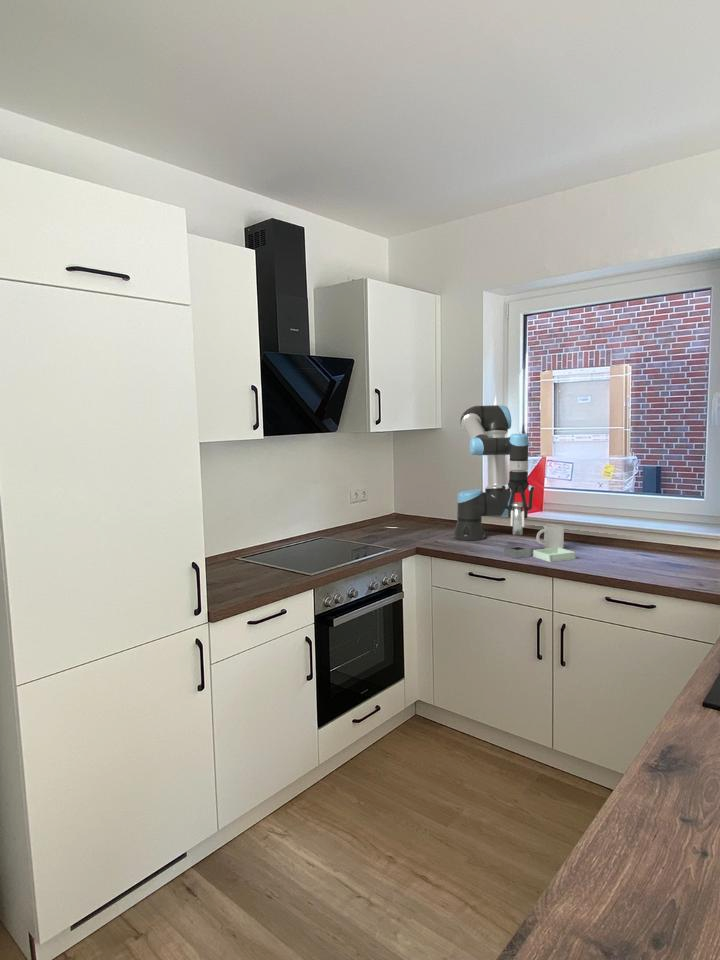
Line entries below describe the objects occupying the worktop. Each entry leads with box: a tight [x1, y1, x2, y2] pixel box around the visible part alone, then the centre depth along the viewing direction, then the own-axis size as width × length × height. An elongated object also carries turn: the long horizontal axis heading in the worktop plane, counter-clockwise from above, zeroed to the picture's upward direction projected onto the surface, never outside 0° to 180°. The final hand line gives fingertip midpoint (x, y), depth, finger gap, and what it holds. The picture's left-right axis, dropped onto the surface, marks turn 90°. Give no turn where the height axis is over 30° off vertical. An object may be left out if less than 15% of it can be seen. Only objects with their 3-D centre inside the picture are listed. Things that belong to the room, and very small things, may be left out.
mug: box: [535, 523, 565, 549], centre depth 274 cm, size 12×8×10 cm
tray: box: [532, 547, 577, 563], centre depth 257 cm, size 11×13×3 cm
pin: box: [511, 501, 524, 536], centre depth 261 cm, size 6×6×13 cm
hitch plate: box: [503, 545, 532, 559], centre depth 262 cm, size 8×8×3 cm
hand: (517, 525), depth 261 cm, fingers closed on pin, 4 cm apart
